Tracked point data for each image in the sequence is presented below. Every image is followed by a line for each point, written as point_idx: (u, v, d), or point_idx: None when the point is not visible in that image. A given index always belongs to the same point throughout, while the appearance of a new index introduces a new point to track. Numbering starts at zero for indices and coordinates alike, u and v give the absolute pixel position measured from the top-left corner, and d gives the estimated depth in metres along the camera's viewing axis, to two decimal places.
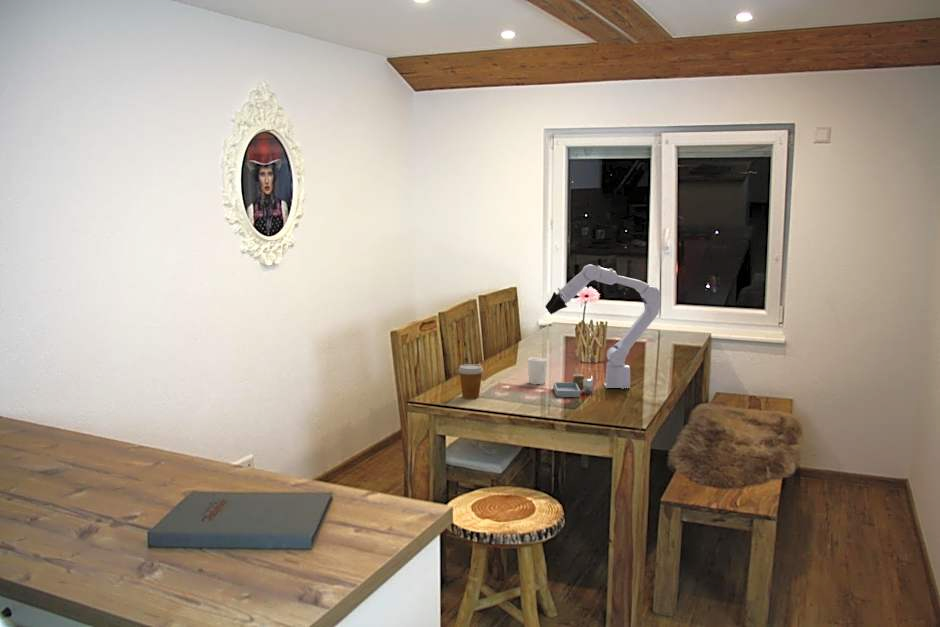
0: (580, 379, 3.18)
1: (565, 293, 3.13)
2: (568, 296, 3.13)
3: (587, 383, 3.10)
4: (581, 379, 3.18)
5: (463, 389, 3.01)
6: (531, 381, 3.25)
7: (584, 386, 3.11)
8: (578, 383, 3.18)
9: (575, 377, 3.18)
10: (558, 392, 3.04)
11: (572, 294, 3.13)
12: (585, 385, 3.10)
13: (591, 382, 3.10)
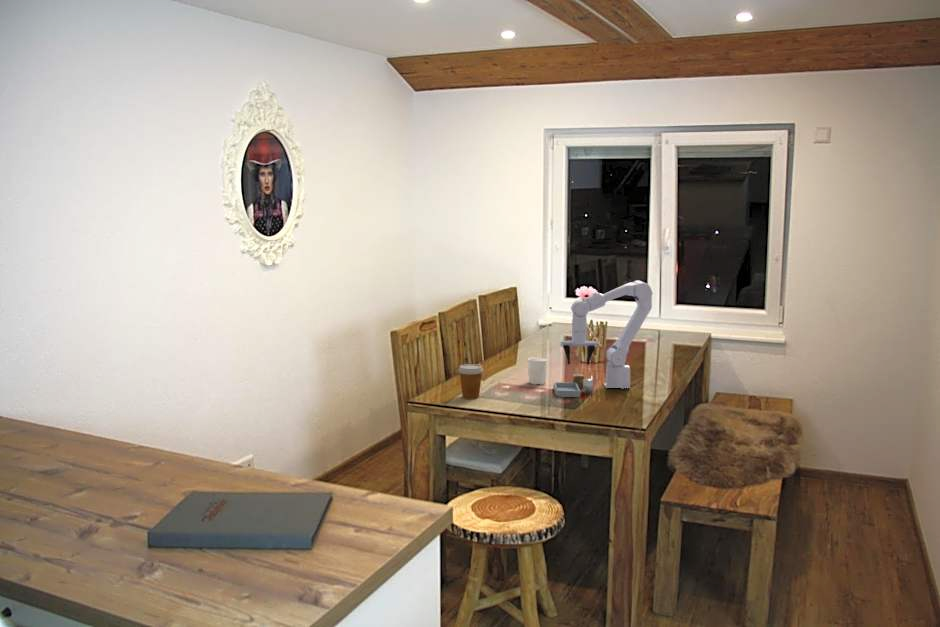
0: (580, 379, 3.18)
1: (585, 340, 3.16)
2: None
3: (587, 384, 3.10)
4: (581, 379, 3.18)
5: (463, 389, 3.01)
6: (531, 381, 3.25)
7: (584, 386, 3.11)
8: (578, 383, 3.18)
9: (575, 377, 3.18)
10: (558, 392, 3.04)
11: None
12: (585, 385, 3.10)
13: (591, 382, 3.10)
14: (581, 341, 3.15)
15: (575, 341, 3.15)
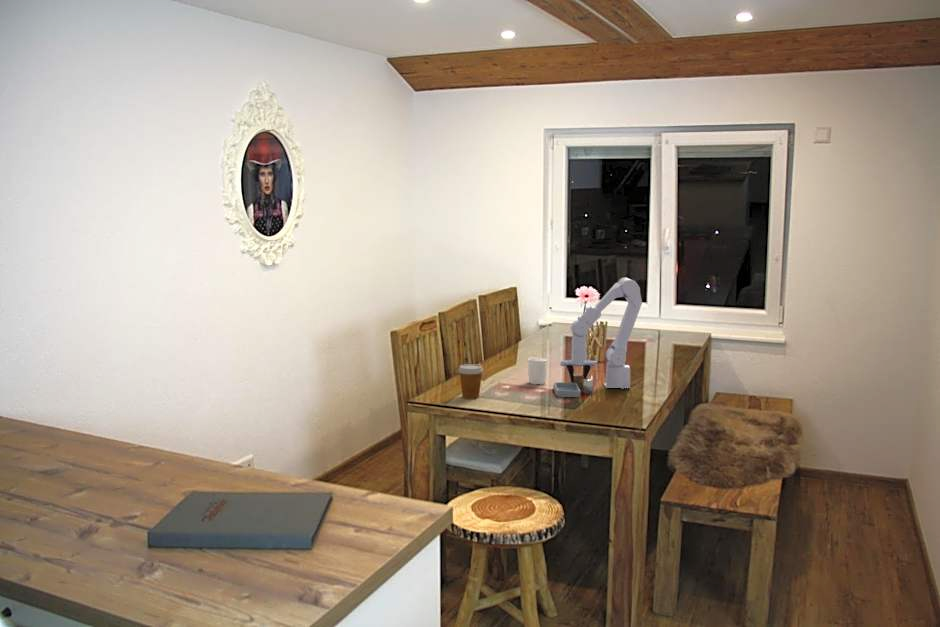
0: (580, 378, 3.18)
1: (585, 360, 3.17)
2: None
3: (587, 383, 3.10)
4: (581, 379, 3.18)
5: (463, 389, 3.01)
6: (531, 381, 3.25)
7: (584, 386, 3.11)
8: (578, 383, 3.18)
9: (575, 377, 3.18)
10: (558, 392, 3.04)
11: None
12: (585, 385, 3.10)
13: (591, 382, 3.10)
14: (581, 361, 3.16)
15: (575, 361, 3.16)
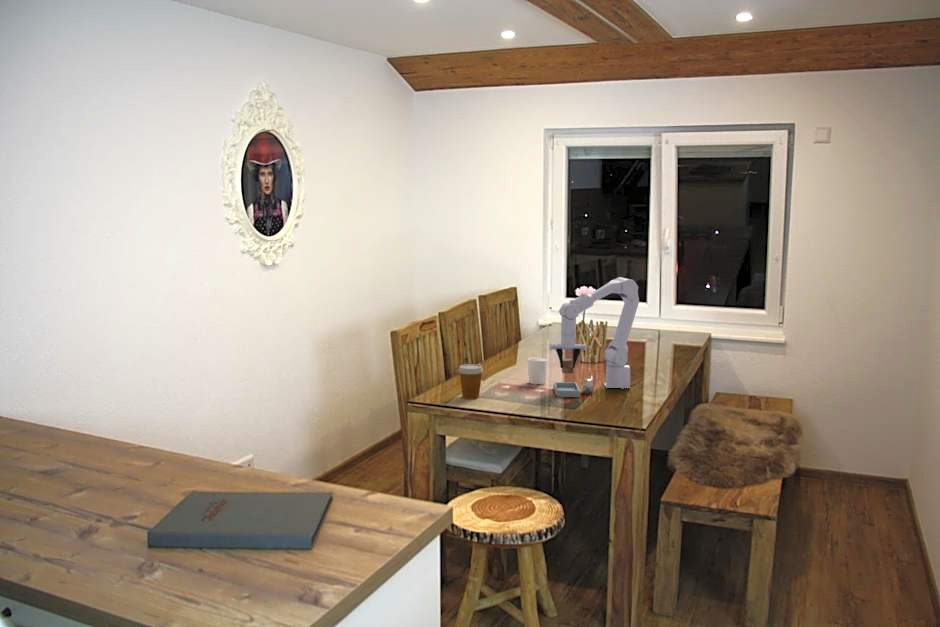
0: (569, 363, 3.12)
1: (575, 344, 3.12)
2: None
3: (587, 383, 3.10)
4: (570, 364, 3.12)
5: (463, 389, 3.01)
6: (531, 381, 3.25)
7: (584, 386, 3.11)
8: (567, 368, 3.12)
9: (564, 362, 3.12)
10: (558, 392, 3.04)
11: None
12: (585, 385, 3.10)
13: (591, 382, 3.10)
14: (570, 344, 3.10)
15: (564, 344, 3.10)
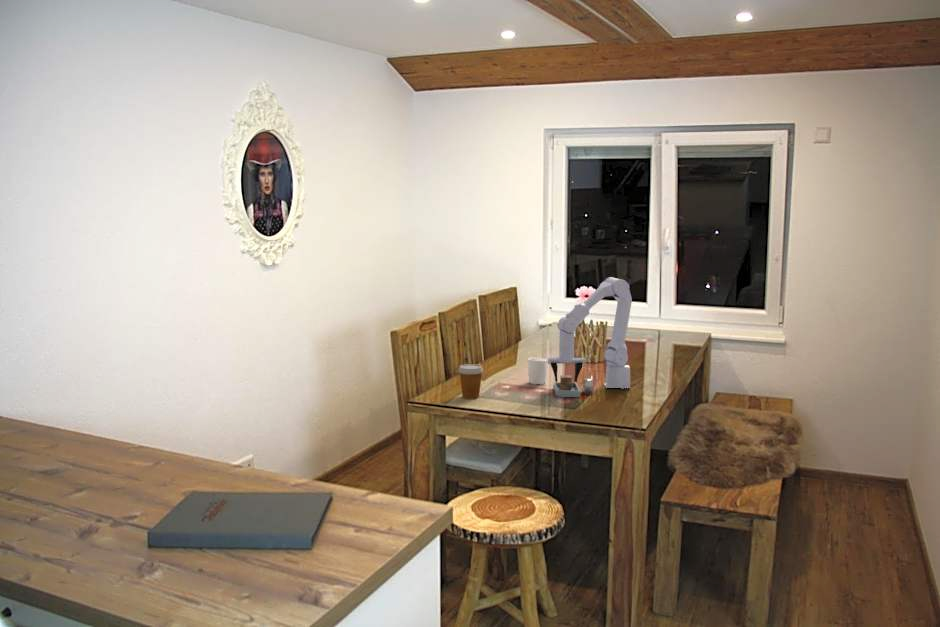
0: (568, 380, 3.12)
1: (573, 357, 3.12)
2: None
3: (587, 383, 3.10)
4: (569, 380, 3.12)
5: (463, 389, 3.01)
6: (531, 381, 3.25)
7: (584, 386, 3.11)
8: (566, 384, 3.12)
9: (563, 378, 3.12)
10: (558, 392, 3.04)
11: None
12: (585, 385, 3.10)
13: (591, 382, 3.10)
14: (568, 358, 3.10)
15: (562, 358, 3.11)
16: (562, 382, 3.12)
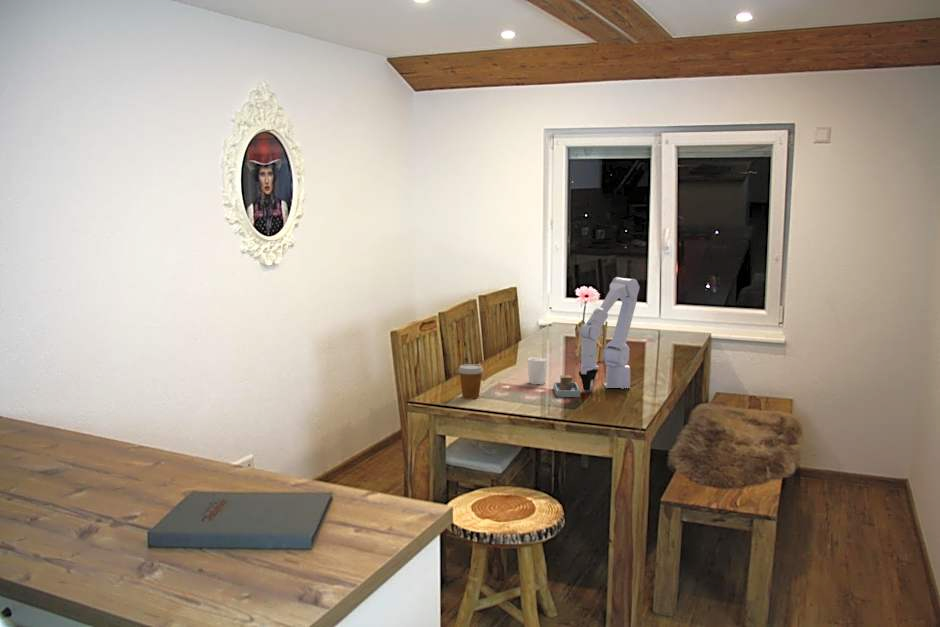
0: (568, 380, 3.12)
1: None
2: None
3: None
4: (569, 380, 3.12)
5: (463, 389, 3.01)
6: (531, 381, 3.25)
7: None
8: (566, 384, 3.12)
9: (563, 378, 3.12)
10: (558, 392, 3.04)
11: None
12: None
13: (591, 382, 3.10)
14: None
15: (593, 365, 3.08)
16: (562, 382, 3.12)
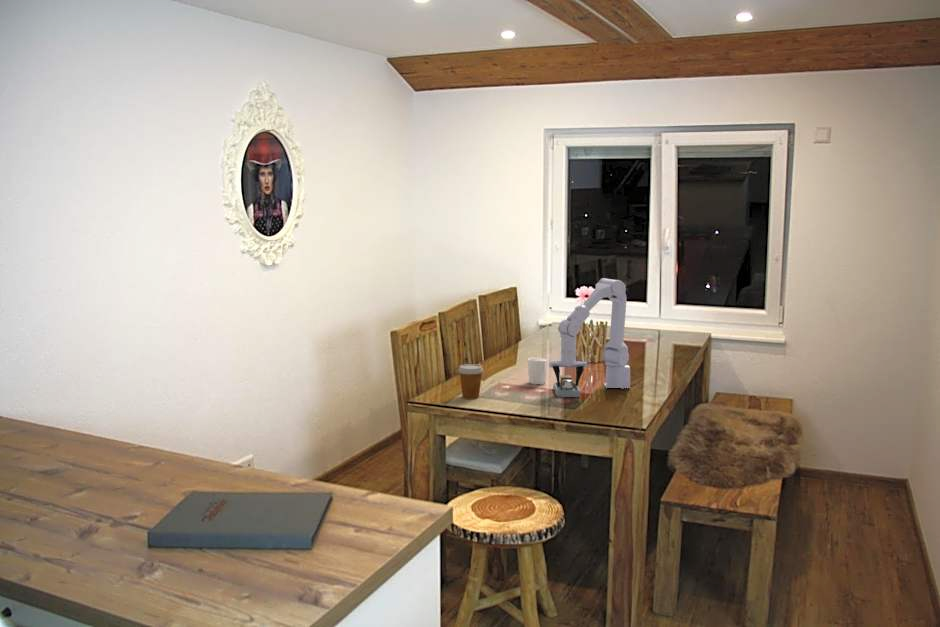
0: None
1: (575, 361, 3.05)
2: None
3: (563, 383, 3.07)
4: None
5: (463, 389, 3.01)
6: (531, 381, 3.25)
7: None
8: None
9: (563, 378, 3.12)
10: (558, 392, 3.04)
11: None
12: None
13: (565, 383, 3.06)
14: (570, 362, 3.04)
15: (564, 362, 3.04)
16: (562, 382, 3.12)
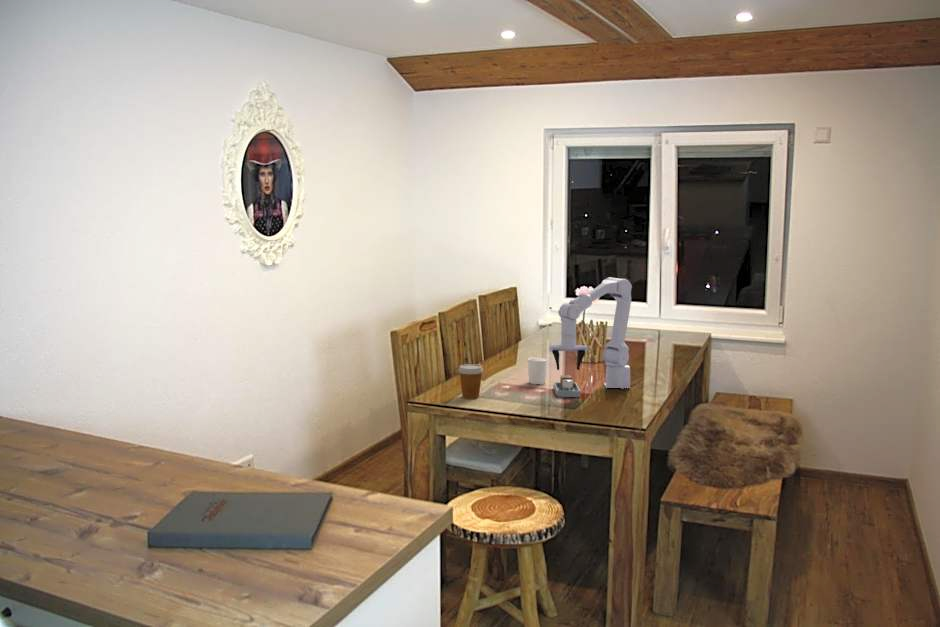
0: None
1: (575, 345, 3.04)
2: None
3: (562, 383, 3.07)
4: None
5: (463, 389, 3.01)
6: (531, 381, 3.25)
7: None
8: None
9: (563, 378, 3.12)
10: (558, 392, 3.04)
11: None
12: (562, 384, 3.08)
13: (565, 383, 3.06)
14: (571, 346, 3.03)
15: (564, 346, 3.03)
16: None
